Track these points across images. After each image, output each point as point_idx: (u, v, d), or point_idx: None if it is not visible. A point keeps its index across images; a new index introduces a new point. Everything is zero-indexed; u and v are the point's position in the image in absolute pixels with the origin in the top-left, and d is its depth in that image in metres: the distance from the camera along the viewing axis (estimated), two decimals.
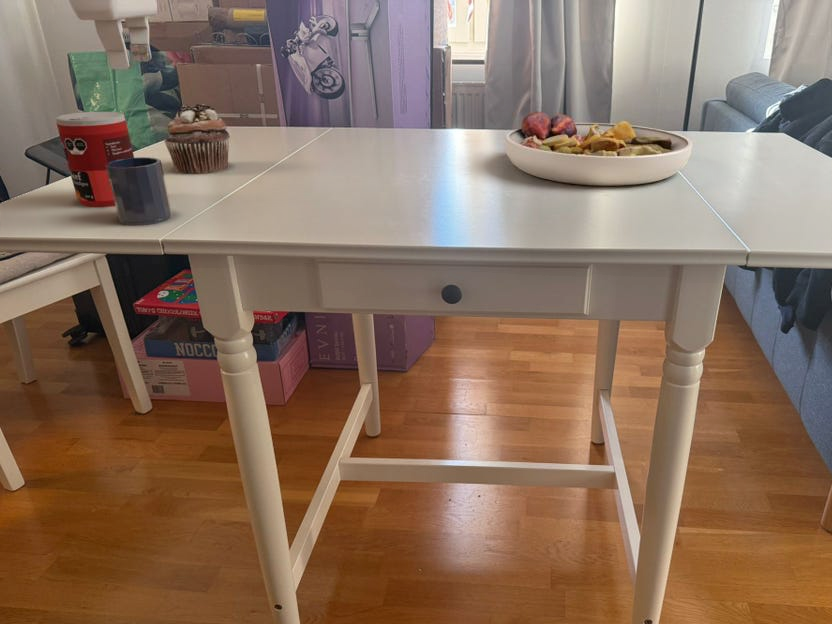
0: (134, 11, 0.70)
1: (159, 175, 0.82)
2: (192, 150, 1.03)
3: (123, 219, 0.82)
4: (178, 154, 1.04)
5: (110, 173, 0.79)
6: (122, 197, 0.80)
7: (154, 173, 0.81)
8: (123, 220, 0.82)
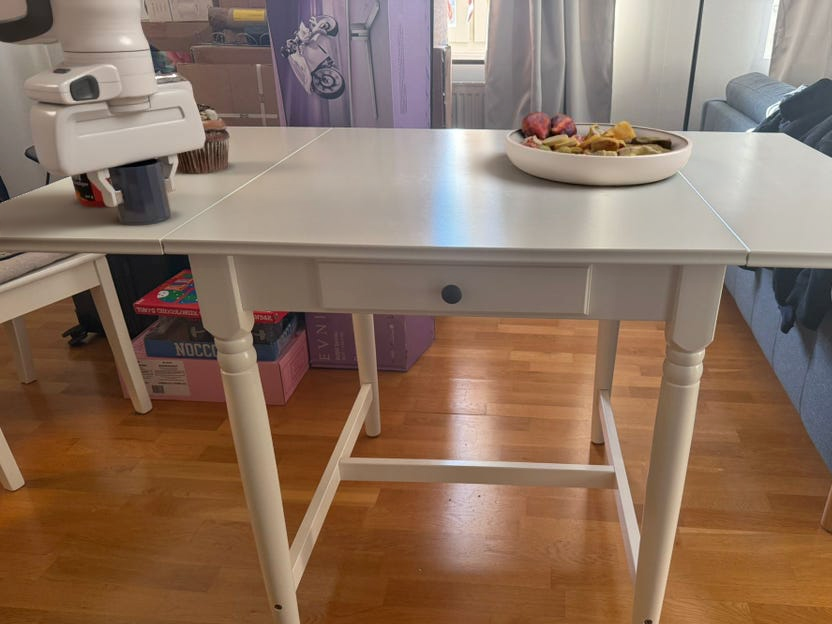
0: (125, 159, 0.78)
1: (159, 175, 0.82)
2: (192, 150, 1.03)
3: (123, 219, 0.82)
4: (178, 154, 1.04)
5: (110, 173, 0.79)
6: (123, 197, 0.80)
7: (154, 173, 0.81)
8: (123, 220, 0.82)
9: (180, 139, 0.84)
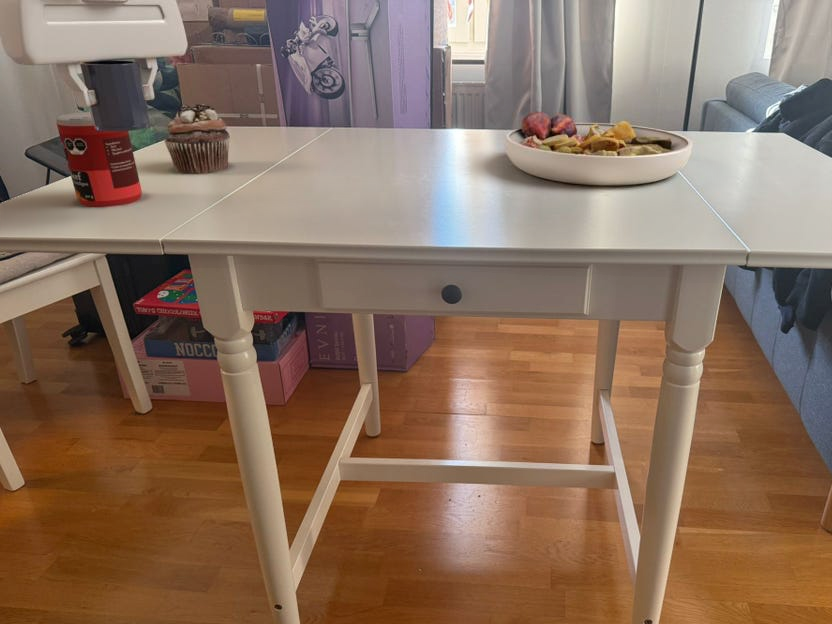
0: (99, 55, 0.73)
1: (136, 77, 0.76)
2: (192, 150, 1.03)
3: (97, 124, 0.77)
4: (178, 154, 1.04)
5: (83, 71, 0.74)
6: (96, 98, 0.75)
7: (131, 73, 0.75)
8: (97, 125, 0.77)
9: (159, 41, 0.79)
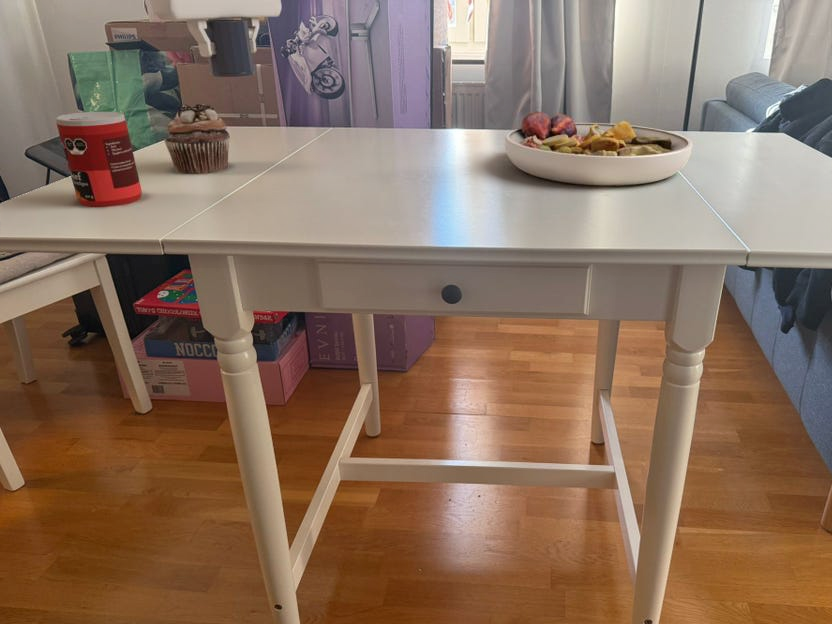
0: (220, 13, 0.91)
1: (246, 32, 0.94)
2: (192, 150, 1.03)
3: (215, 71, 0.94)
4: (178, 154, 1.04)
5: None
6: (216, 49, 0.93)
7: (243, 29, 0.93)
8: (215, 72, 0.94)
9: (262, 4, 0.96)
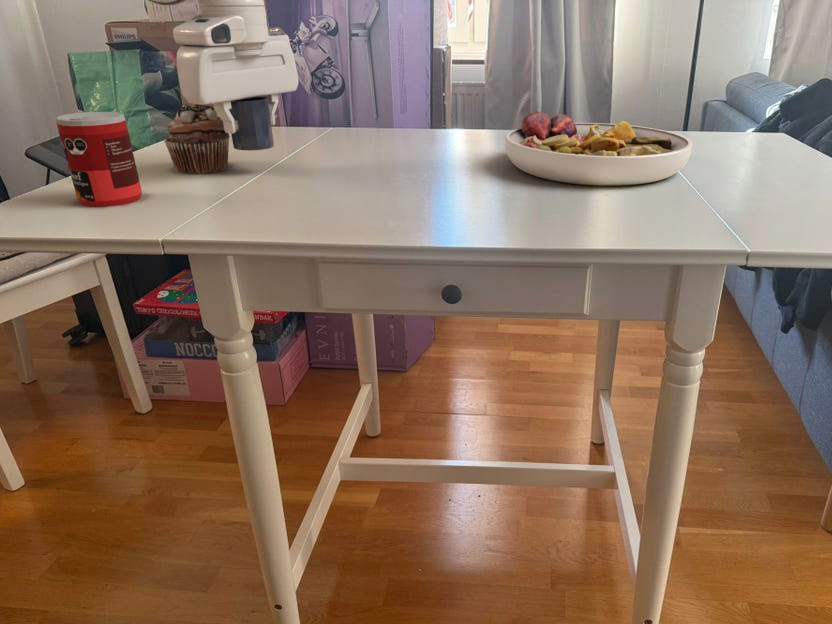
0: (243, 94, 0.98)
1: (267, 109, 1.01)
2: (192, 150, 1.03)
3: (238, 145, 1.02)
4: (178, 154, 1.04)
5: None
6: (239, 126, 1.00)
7: (264, 107, 1.01)
8: (238, 145, 1.02)
9: (281, 81, 1.04)
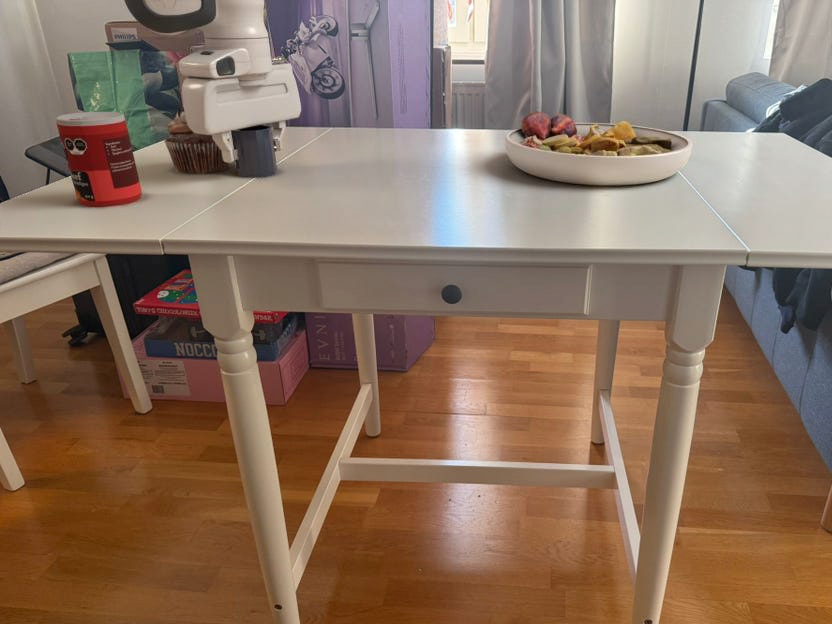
0: (247, 123, 1.00)
1: (271, 138, 1.03)
2: (192, 150, 1.03)
3: (242, 173, 1.04)
4: (178, 154, 1.04)
5: (235, 135, 1.01)
6: (243, 155, 1.02)
7: (268, 136, 1.03)
8: (242, 173, 1.04)
9: (284, 109, 1.06)
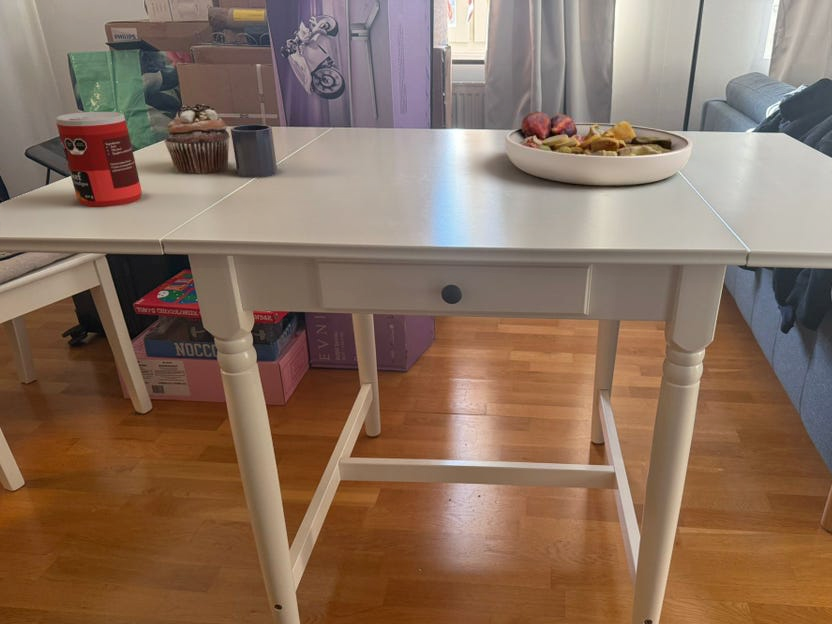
0: None
1: (271, 138, 1.03)
2: (192, 150, 1.03)
3: (242, 173, 1.04)
4: (178, 154, 1.04)
5: (235, 135, 1.01)
6: (243, 155, 1.02)
7: (268, 136, 1.03)
8: (242, 173, 1.04)
9: None
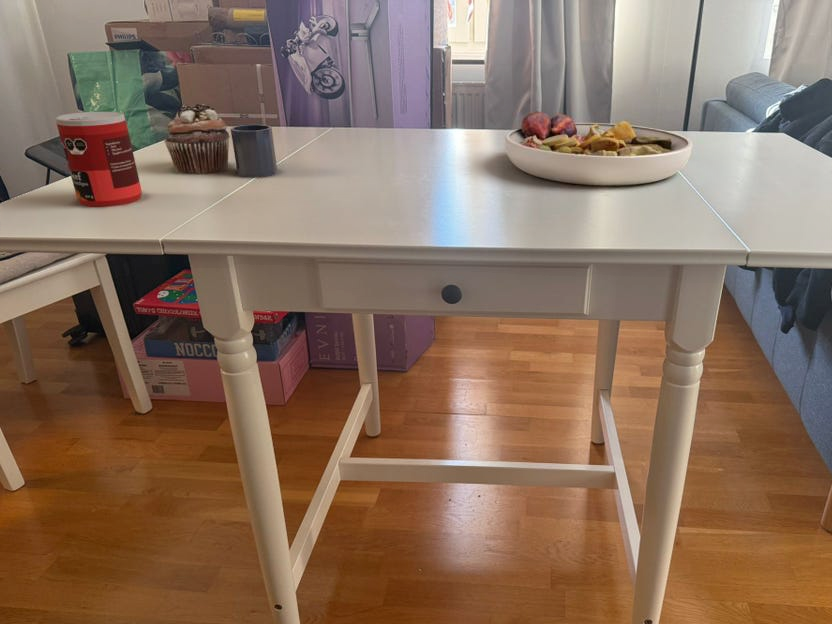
0: None
1: (271, 138, 1.03)
2: (192, 150, 1.03)
3: (242, 173, 1.04)
4: (178, 154, 1.04)
5: (235, 135, 1.01)
6: (243, 155, 1.02)
7: (268, 136, 1.03)
8: (242, 173, 1.04)
9: None
